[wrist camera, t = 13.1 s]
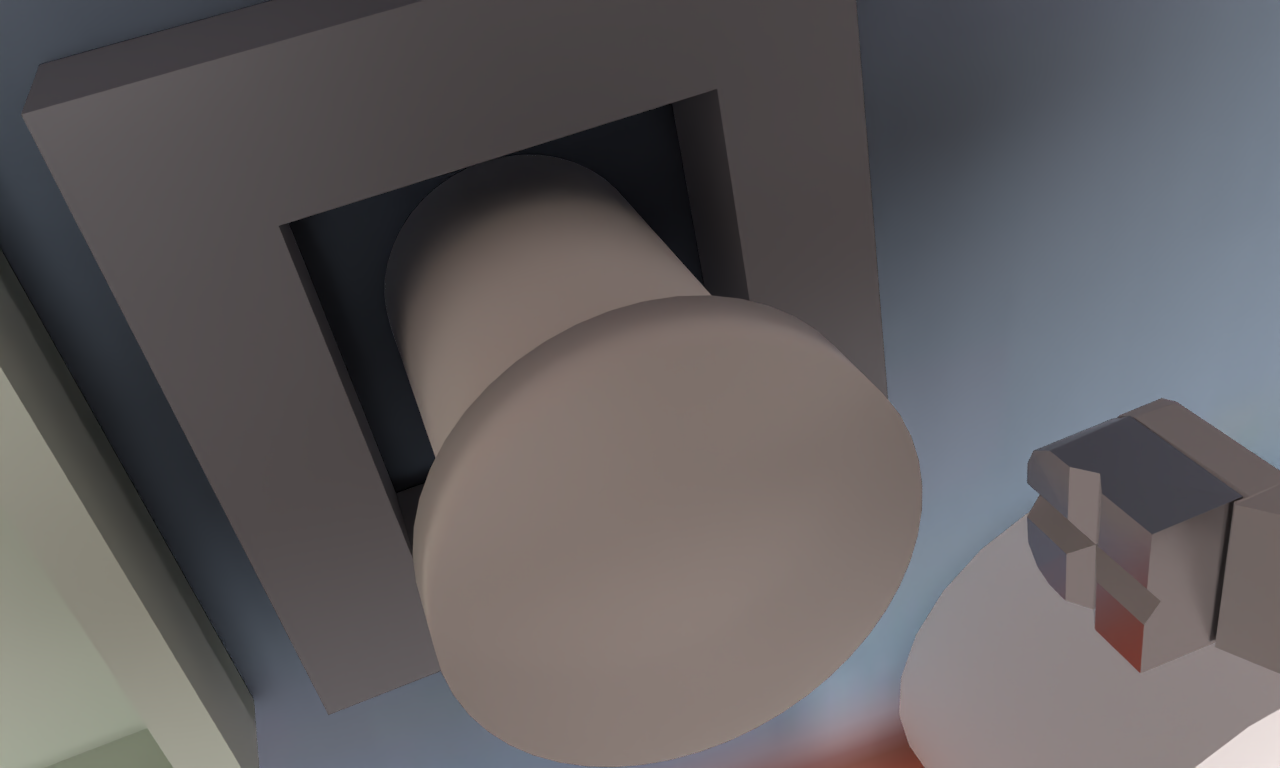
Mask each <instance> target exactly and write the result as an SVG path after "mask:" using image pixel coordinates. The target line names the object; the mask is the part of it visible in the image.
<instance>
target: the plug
mask: <svg viewBox="0 0 1280 768" xmlns="http://www.w3.org/2000/svg"><path fill="white" fill-rule="evenodd" d="M384 296H385V304H386V312H387V316H388V319H389V323H390V326H391V330H392V332H393V335H394V338H395V341H396V344H397V347H398V350H399V353H400V356H401V359H402V362H403V365H404V367H405V370H406V373H407V376H408V379H409V382H410V385H411V388H412V391H413V394H414V397H415V399H416V402H417V405H418V408H419V411H420V414H421V417H422V420H423V423H424V426H425V429H426V432H427V434H428V437H429V440H430V443H431V446H432V449H433V452H434V455H435V460H434V462H433V464H432V466H431V468H430V470H429V473H428V476H427V479H426V481H425V484H424V487H423V490H422V493H421V495H420V498H419V503H418V508H417V513H416V518H415V523H414V533H413V562H414V570H415V578H416V583H417V587H418V591H419V594H420V598H421V602H422V605H423V609H424V613H425V616H426V620H427V624H428V627H429V631H430V635H431V638H432V642H433V646H434V649H435V652H436V656H437V659H438V662H439V665H440V668H441V672H442V674H443V676H444V678H445V680H446V682H447V683H448V685H449V687H450V689H451V691H452V693H453V695H454V696H455V697H456V699H457V700H458V701H459V703H460V704H461V705H462V706H463V708H464V709H465V710H466V711H467V713H468V714H469V715H470V716H471V717H472V718H473V719H475V720H476V721H477V722H478V723H479V724H480V725H481V726H482V727H484V728H485V729H486V730H487V731H488V732H490V733H491V734H493V735H494V736H496V737H498V738H499V739H501V740H502V741H504V742H506V743H507V744H509V745H511V746H513V747H515V748H518V749H520V750H522V751H525V752H527V753H529V754H532V755H534V756H538V757H542V758H545V759H549V760H552V761H556V762H560V763H567V764H574V765H581V766H598V767H620V766H633V765H644V764H649V763H655V762H661V761H666V760H672V759H675V758H679V757H683V756H686V755H690V754H694V753H697V752H701V751H703V750H706V749H709V748H711V747H714V746H717V745H719V744H722V743H725V742H727V741H730V740H732V739H734V738H736V737H738V736H740V735H742V734H745V733H747V732H749V731H751V730H753V729H755V728H757V727H759V726H760V725H762V724H764V723H766V722H767V721H769V720H771V719H772V718H774V717H776V716H778V715H779V714H781V713H783V712H784V711H785V710H787V709H788V708H790V707H791V706H793V705H794V704H796V703H797V702H798V701H800V700H801V699H803V698H804V697H806V696H807V695H808V694H809V693H811V692H812V691H813V690H814V689H815V688H817V687H818V686H819V685H820V684H821V683H823V682H824V681H825V680H826V679H827V678H829V677H830V676H831V675H832V674H833V673H834V672H835V671H836V670H837V669H838V668H839V667H840V666H841V665H842V664H843V663H844V662H845V661H846V660H847V659H848V658H849V657H850V656H851V655H852V654H853V653H854V651H855V650H856V649H857V648H858V647H859V646H860V644H861V643H862V642H863V641H864V640H865V639H866V637H867V636H868V635H869V634H870V632H871V631H872V629H873V628H874V627H875V625H876V624H877V622H878V621H879V620H880V618H881V617H882V615H883V614H884V612H885V611H886V609H887V607H888V606H889V604H890V602H891V600H892V599H893V597H894V595H895V593H896V591H897V590H898V588H899V586H900V584H901V581H902V579H903V577H904V574H905V572H906V570H907V567H908V565H909V563H910V560H911V557H912V553H913V550H914V546H915V543H916V540H917V536H918V530H919V524H920V518H921V511H922V480H921V473H920V466H919V460H918V456H917V453H916V450H915V447H914V444H913V441H912V437H911V435H910V433H909V431H908V430H907V428H906V426H905V424H904V422H903V420H902V418H901V416H900V414H899V413H898V412H897V411H896V409H895V408H894V407H893V405H892V404H891V403H890V402H889V400H888V399H887V398H886V397H885V395H884V394H883V393H882V392H881V391H880V390H879V389H878V388H877V387H876V386H875V385H874V384H873V383H872V382H871V381H870V380H869V379H868V378H867V377H866V376H865V375H864V374H863V373H861V372H860V371H859V370H858V369H857V368H856V367H855V366H854V365H853V364H852V363H851V362H850V361H849V360H848V359H847V358H846V357H845V356H844V355H843V354H842V353H841V352H840V351H839V350H838V349H837V348H836V347H835V346H834V345H833V344H832V343H830V342H829V341H828V340H827V339H826V338H825V337H824V336H823V335H821V334H820V333H819V332H818V331H817V330H815V329H814V328H812V327H811V326H809V325H807V324H806V323H804V322H803V321H801V320H799V319H798V318H796V317H795V316H792V315H790V314H787V313H785V312H783V311H780V310H778V309H776V308H773V307H771V306H768V305H764V304H760V303H756V302H752V301H748V300H744V299H740V298H731V297H721V296H712V295H711V294H710V293H709V292H708V291H707V290H706V289H705V288H704V286H703V285H702V284H701V283H700V282H699V281H698V280H697V279H696V278H695V276H694V275H693V274H692V273H691V272H690V271H689V270H688V269H687V267H686V266H685V265H684V264H683V263H682V262H681V261H680V260H679V259H678V257H677V256H676V255H675V254H674V253H673V252H672V251H671V250H670V249H669V247H668V246H667V245H666V244H665V243H664V242H663V241H662V240H661V238H660V237H659V236H658V235H657V234H656V233H655V232H654V231H653V230H652V228H651V227H650V226H649V225H648V224H647V223H646V222H645V221H644V220H643V218H642V217H641V216H640V215H639V214H638V213H637V212H636V211H635V209H634V208H633V207H632V206H631V205H630V204H629V203H628V202H627V201H626V199H625V198H624V197H623V196H622V195H621V194H620V193H619V192H618V191H617V189H616V188H615V187H613V186H612V185H611V184H610V183H609V182H608V181H606V180H605V179H604V178H603V177H601V176H600V175H598V174H596V173H595V172H593V171H592V170H590V169H588V168H586V167H584V166H582V165H579V164H577V163H575V162H572V161H568V160H565V159H562V158H558V157H552V156H545V155H525V154H522V155H513V156H504V157H500V158H496V159H492V160H488V161H485V162H482V163H479V164H477V165H474V166H471V167H469V168H467V169H465V170H463V171H461V172H459V173H457V174H455V175H454V176H452V177H450V178H449V179H447V180H446V181H445V182H443V183H442V184H440V185H439V186H438V187H436V188H435V189H434V190H433V191H432V192H431V193H430V194H428V195H427V196H426V197H425V198H424V199H423V200H422V201H421V202H420V203H419V205H418V206H417V207H416V208H415V209H414V211H413V212H412V213H411V214H410V216H409V217H408V219H407V220H406V222H405V223H404V225H403V226H402V228H401V230H400V232H399V234H398V236H397V238H396V240H395V242H394V244H393V247H392V250H391V253H390V256H389V260H388V263H387V269H386V275H385V293H384Z"/></svg>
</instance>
